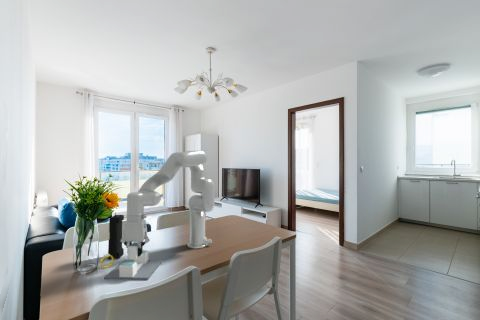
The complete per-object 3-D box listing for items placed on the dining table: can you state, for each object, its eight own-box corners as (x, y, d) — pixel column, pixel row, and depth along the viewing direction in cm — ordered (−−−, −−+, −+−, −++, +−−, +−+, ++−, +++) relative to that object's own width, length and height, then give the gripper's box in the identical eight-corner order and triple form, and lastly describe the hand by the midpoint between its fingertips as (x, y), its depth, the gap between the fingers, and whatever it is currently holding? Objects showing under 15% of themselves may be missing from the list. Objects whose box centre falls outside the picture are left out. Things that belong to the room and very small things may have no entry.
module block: (141, 254, 115) (141, 241, 115) (136, 259, 109) (136, 246, 109) (133, 254, 115) (133, 241, 115) (127, 259, 109) (127, 246, 109)
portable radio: (113, 253, 131) (113, 210, 131) (124, 253, 132) (124, 210, 132) (106, 259, 123) (107, 213, 123) (118, 259, 124) (118, 213, 124)
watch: (102, 270, 112) (101, 258, 112) (99, 268, 114) (98, 256, 114) (114, 264, 117) (113, 253, 117) (112, 263, 119) (111, 252, 118)
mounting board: (161, 262, 121) (162, 249, 121) (147, 279, 103) (147, 265, 103) (124, 261, 121) (124, 249, 121) (103, 279, 103) (103, 265, 103)
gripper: (155, 216, 115) (154, 252, 115) (122, 215, 116) (122, 252, 115) (149, 220, 108) (148, 258, 108) (114, 219, 108) (113, 258, 108)
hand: (135, 254), depth 112 cm, fingers closed on module block, 4 cm apart
